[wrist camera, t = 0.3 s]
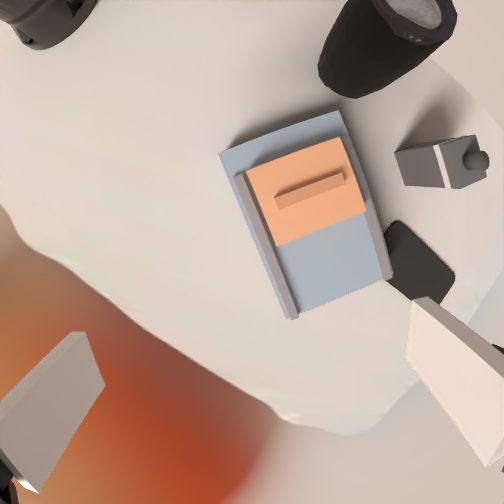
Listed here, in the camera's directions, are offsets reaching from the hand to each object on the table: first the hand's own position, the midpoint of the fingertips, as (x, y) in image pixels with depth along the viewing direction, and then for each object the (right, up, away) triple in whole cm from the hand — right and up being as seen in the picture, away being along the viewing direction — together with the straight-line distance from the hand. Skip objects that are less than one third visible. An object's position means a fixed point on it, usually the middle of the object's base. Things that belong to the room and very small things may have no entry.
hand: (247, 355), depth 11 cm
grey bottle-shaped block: (+21, +15, +24) cm, 35 cm away
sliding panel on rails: (+7, +9, +25) cm, 27 cm away
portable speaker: (+12, +27, +21) cm, 36 cm away
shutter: (+6, +10, +20) cm, 24 cm away
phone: (+23, +1, +27) cm, 36 cm away
